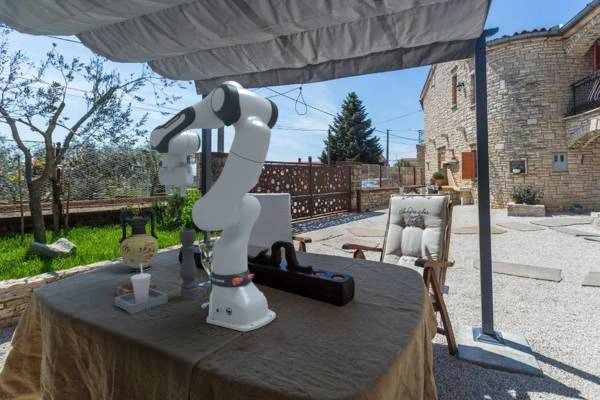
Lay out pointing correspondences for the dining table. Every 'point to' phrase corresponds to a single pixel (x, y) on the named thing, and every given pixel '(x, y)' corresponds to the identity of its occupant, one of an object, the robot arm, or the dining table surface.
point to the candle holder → (188, 265)
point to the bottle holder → (129, 288)
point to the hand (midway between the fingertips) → (176, 196)
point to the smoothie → (141, 286)
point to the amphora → (138, 240)
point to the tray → (132, 307)
